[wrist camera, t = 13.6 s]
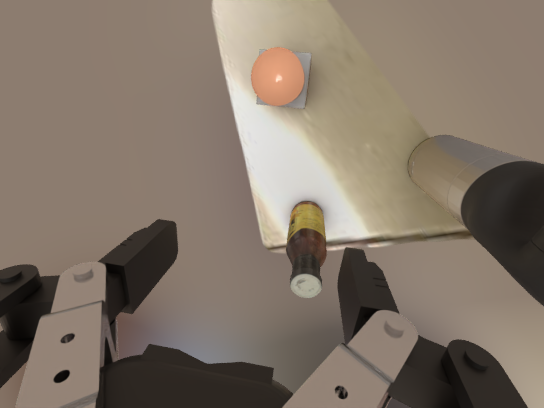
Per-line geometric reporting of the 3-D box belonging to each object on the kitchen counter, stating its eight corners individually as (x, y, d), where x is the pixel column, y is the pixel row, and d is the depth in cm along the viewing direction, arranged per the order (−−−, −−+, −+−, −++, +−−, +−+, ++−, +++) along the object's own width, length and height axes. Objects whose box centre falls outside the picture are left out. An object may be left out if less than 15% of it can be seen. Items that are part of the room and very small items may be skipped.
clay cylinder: (307, 57, 30) (306, 48, 24) (302, 105, 32) (300, 107, 26) (263, 54, 30) (252, 45, 25) (260, 102, 32) (250, 103, 27)
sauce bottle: (289, 200, 50) (277, 262, 32) (322, 199, 49) (329, 261, 31) (292, 230, 53) (282, 303, 34) (324, 229, 51) (331, 304, 33)
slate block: (311, 59, 35) (311, 53, 30) (305, 106, 38) (304, 108, 32) (267, 55, 36) (259, 49, 30) (264, 102, 38) (256, 104, 33)
